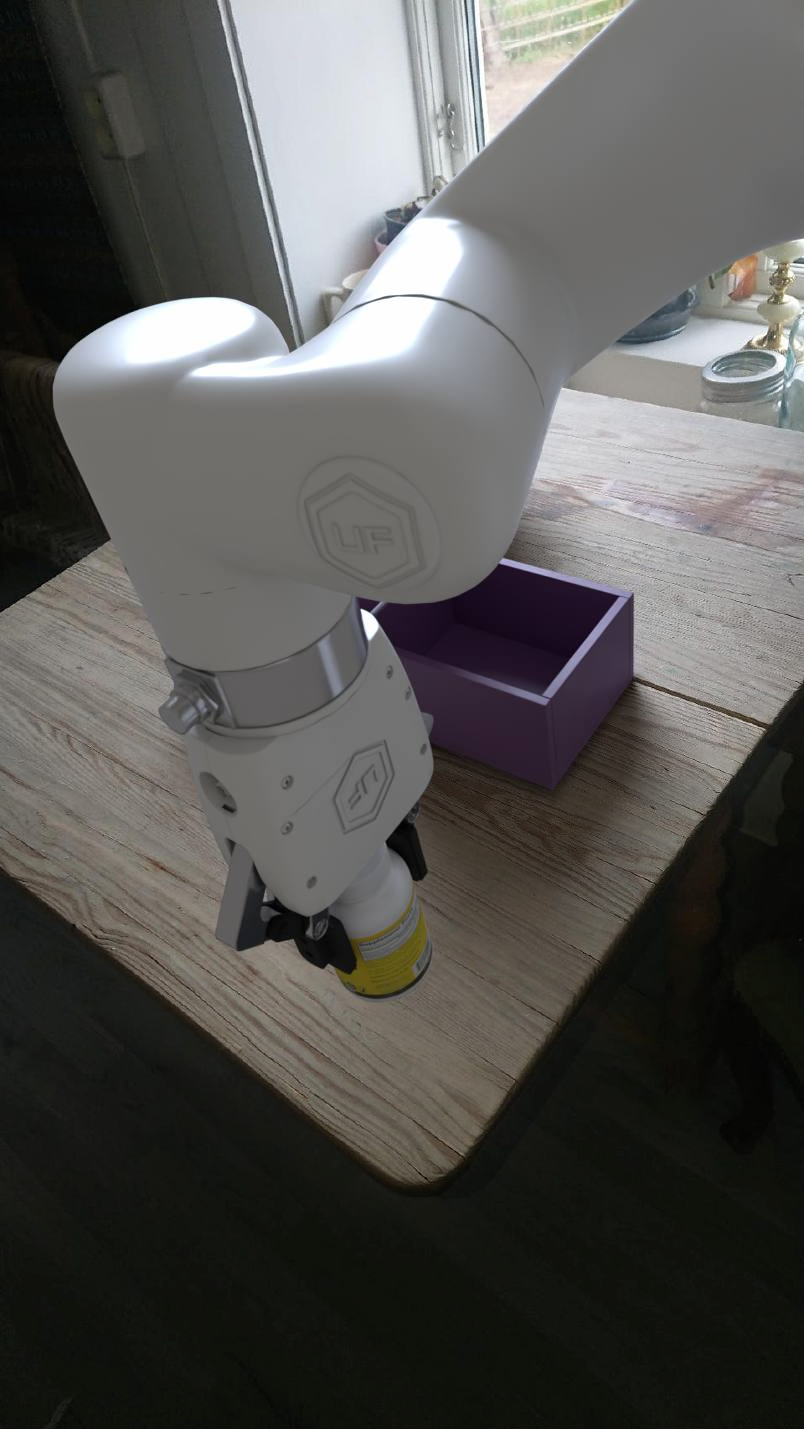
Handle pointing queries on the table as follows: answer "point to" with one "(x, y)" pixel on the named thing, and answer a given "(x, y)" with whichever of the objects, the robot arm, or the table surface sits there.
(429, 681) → the purple box
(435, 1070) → the table surface
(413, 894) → the supplement bottle
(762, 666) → the table surface
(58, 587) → the table surface
